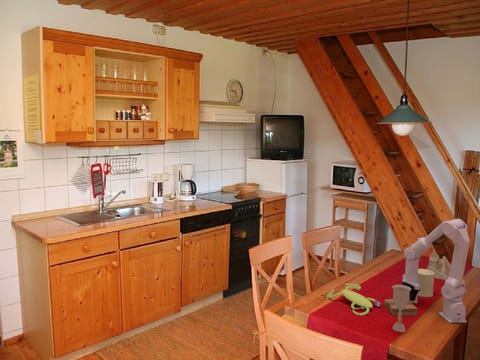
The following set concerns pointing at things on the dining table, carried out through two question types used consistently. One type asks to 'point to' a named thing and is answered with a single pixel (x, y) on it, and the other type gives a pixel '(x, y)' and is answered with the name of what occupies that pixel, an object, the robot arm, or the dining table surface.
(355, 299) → the figurine
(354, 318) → the dining table surface
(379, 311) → the dining table surface
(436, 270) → the ceramic cottage
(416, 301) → the cube
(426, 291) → the can
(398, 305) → the chalice
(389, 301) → the plinth
